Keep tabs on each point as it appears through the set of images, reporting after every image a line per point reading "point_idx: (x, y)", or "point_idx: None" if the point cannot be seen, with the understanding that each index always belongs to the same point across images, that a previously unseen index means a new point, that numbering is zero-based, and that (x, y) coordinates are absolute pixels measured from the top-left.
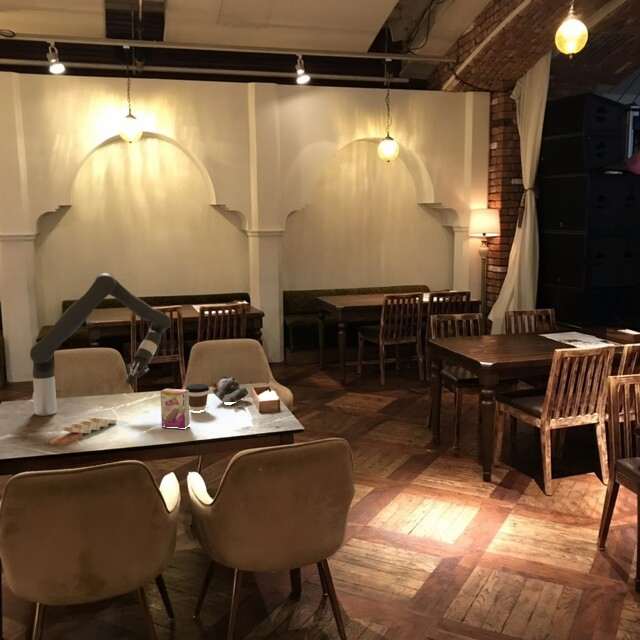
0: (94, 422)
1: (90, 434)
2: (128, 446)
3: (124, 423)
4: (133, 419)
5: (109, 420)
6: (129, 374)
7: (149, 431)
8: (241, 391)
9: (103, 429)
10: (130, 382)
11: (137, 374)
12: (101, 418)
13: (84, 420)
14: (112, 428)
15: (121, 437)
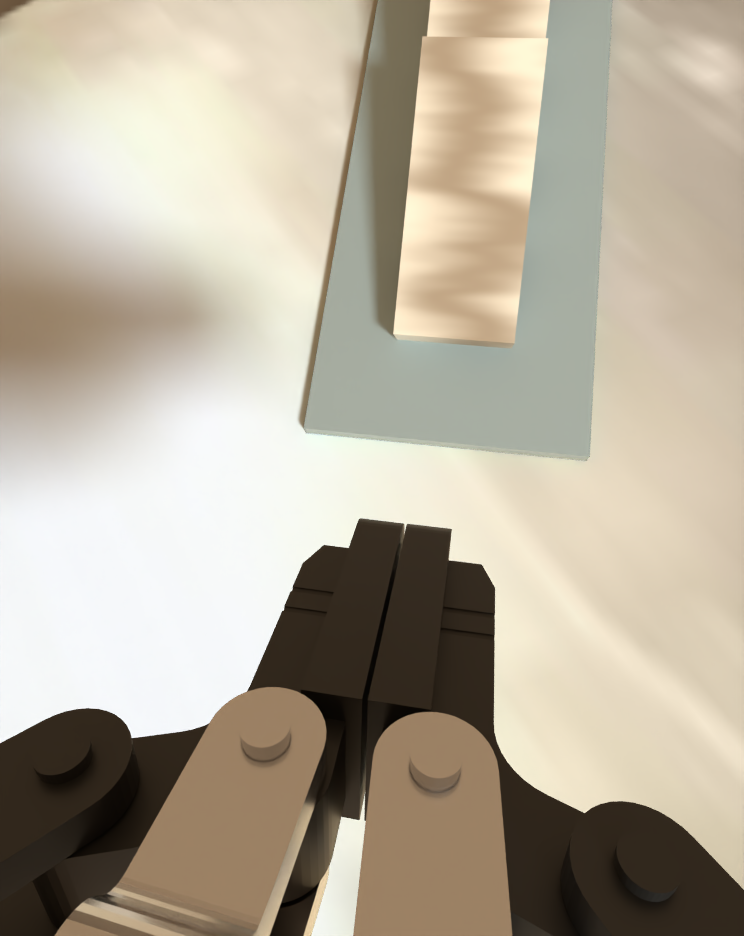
0: (427, 34)
1: (419, 55)
2: (28, 10)
3: (326, 376)
4: None
5: (404, 228)
6: (458, 741)
7: (21, 305)
8: None
9: (403, 179)
10: (329, 560)
11: (42, 736)
12: (471, 173)
13: (539, 6)
14: (344, 225)
15: (168, 121)
